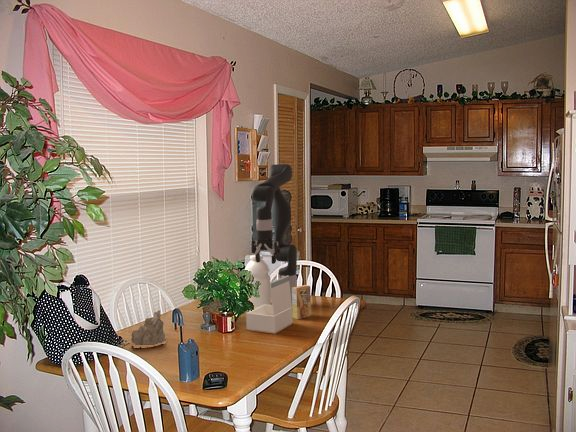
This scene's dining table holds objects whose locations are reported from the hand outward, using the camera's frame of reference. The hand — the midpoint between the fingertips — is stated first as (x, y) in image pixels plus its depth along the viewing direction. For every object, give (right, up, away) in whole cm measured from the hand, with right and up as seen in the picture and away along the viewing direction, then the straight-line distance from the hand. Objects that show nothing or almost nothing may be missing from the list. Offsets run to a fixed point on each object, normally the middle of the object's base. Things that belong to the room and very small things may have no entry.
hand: (265, 262), depth 274 cm
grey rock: (-50, -34, -20) cm, 64 cm away
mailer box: (+2, -30, -2) cm, 30 cm away
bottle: (-5, -27, +33) cm, 43 cm away
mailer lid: (+8, -22, -6) cm, 24 cm away
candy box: (+17, -28, +13) cm, 35 cm away
